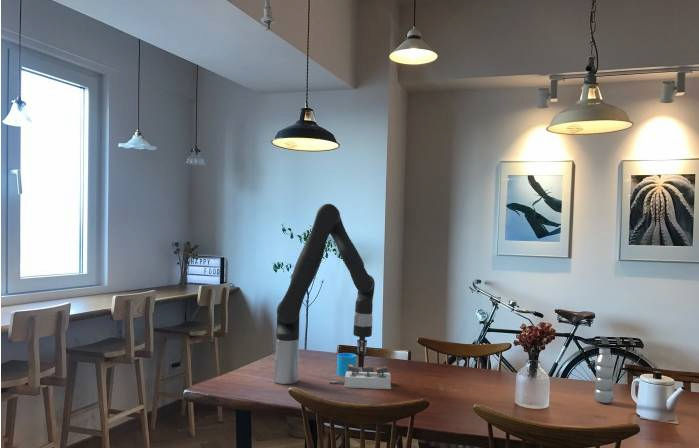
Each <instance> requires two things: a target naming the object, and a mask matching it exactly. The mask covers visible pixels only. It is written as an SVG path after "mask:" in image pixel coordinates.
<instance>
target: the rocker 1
mask: <svg viewBox="0 0 699 448" xmlns="http://www.w3.org/2000/svg"><path fill="white" fill-rule="evenodd" d="M348 370H349V371H352V372H356V373H359V372H360V370H361V367H358V366H357V365H356V366H353V365H350V364H349V366H348Z"/></svg>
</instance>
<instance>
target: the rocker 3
mask: <svg viewBox="0 0 699 448" xmlns="http://www.w3.org/2000/svg"><path fill="white" fill-rule="evenodd" d="M375 372H377V374H380V373H389V367H388V365H385V366H380V367H376V371H375Z"/></svg>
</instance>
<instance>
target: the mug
mask: <svg viewBox="0 0 699 448" xmlns="http://www.w3.org/2000/svg"><path fill="white" fill-rule="evenodd" d="M336 357H337V358H336V359H337V360H336V362H337V363H336V375H338V376H340V377H345V374H346V371H349V370H348V366H349V364H350V365H353V366H356V367H357V354H355V353H350V352H342V353H338V354H337V356H336ZM349 372H352V371H349Z"/></svg>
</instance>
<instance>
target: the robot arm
mask: <svg viewBox="0 0 699 448" xmlns="http://www.w3.org/2000/svg"><path fill="white" fill-rule="evenodd" d="M329 236H331V238H332V239H333V241H334V243H335V245H336V247H337V250H338V253H339V255H340V257H341V260H342V261H343V263H344V265H345V267H346V268H347V270H348V273H349V274H350V277H351V280H352V283H353V285H354V286H355V289H357V298H356V300H355V306H354V307H355V308H354V318H353V329H352V330H353V332H352V334H353V336H355V337H359V339H357V341H356V342H357V343H356V345H357V349H356V350H357V353H358V355H357V358H358V361H357V362H358V363H357V367H359V368H362V367H364V365H365V356H366V355H365V354H366V352H367V345H368V340H367V339H366V338H370V337H372V336H373V322H374V321H373V308H374V307H373V306H374V305H373V304H374V303H373V301H374V295H375V286H376V285H375V283H376V282H375V279H374V277H373V276H372V275H370V274H368V271H367V270H366V268H365V263H364V260H363V259H362V257H361V255H360V253H359V252H358V250H357V247H356V246H355V245H354V243H353V241H352V239H351V238H350V236H349V234H348V233H347V231H346V229H345V225H344V223H343V221H342V217H341V213H340V210H339V209H338V207H337V206H335V205H334V204H332V203H325V204H323V205H321V206H320V207H319V208H318V210H317V212H316V215H315V218H314V222H313V225H312V228H311V231H310V233H309V235H308V237H307V239H306V241H305V242H304V245H303V248H301V249H302V250H301V251H300V254H299V255H298V258H297V261H296V262H295V265H294V268H293V272H292V275H291V279H290V281H289V282H290V283H289V286H288V288H287V289H286V290H287V291H286V293H284V294H285V295H284V297H283V298H282V300H281V301H280V302H279V304H278V305H277V307H276V332H275V334H276V336H275V337H276V338H275V340H276V343H275V358H274V367H273V368H274V370H273V371H274V372H273V373H274V374H273V376H274V377H273V383H274V384H275V383H276V384H281V385H290V384H296V383H298V382H299V354H300V353H299V350H300V348H299V347H300V346H299V345H300V318H301V317H300V314H301V309H302V306H303V303H304V300H305V297H306V294H307V292H308V290H309V288H310V287H311V284H313V281H314V279H315V277H316V275H317V273H318V271H319V268H320V266H321V263H322V261H323V258H324V253H325V249H326V246H327V241H328V238H329Z"/></svg>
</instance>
